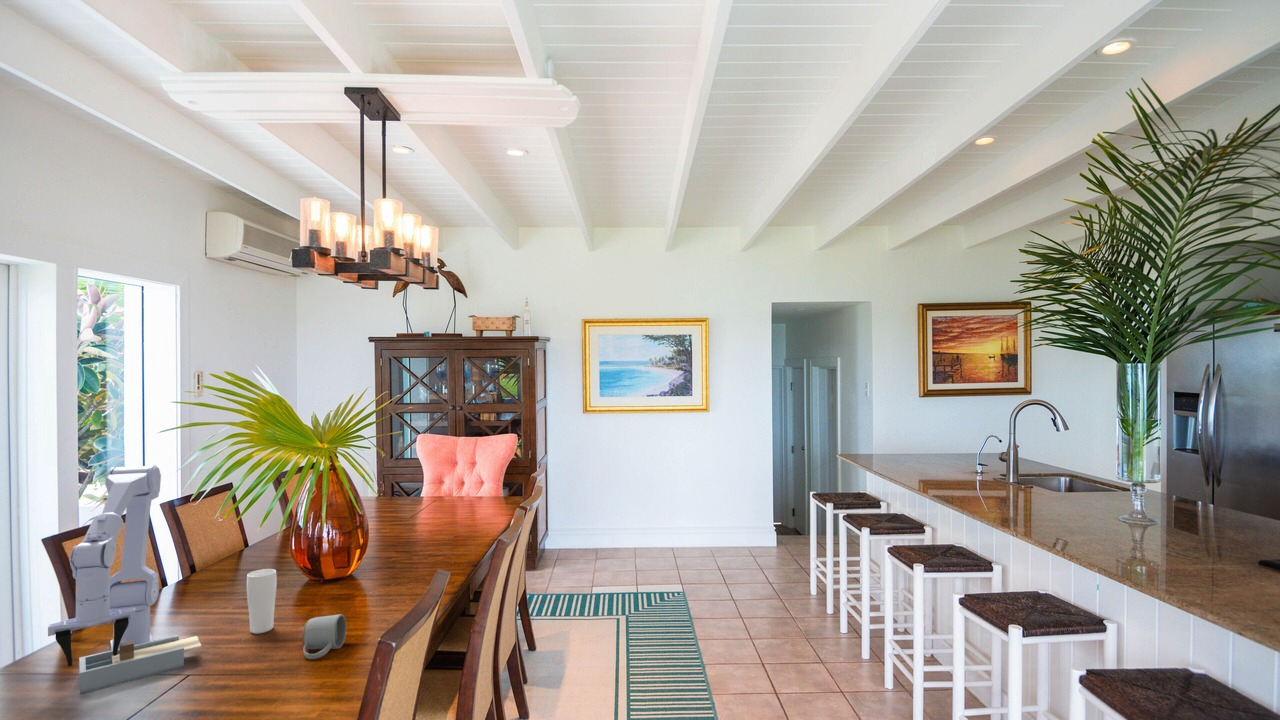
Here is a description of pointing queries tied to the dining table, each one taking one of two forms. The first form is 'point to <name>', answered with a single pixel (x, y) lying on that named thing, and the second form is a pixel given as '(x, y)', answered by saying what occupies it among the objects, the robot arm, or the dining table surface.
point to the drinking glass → (261, 599)
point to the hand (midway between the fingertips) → (92, 659)
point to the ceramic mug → (323, 634)
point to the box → (127, 666)
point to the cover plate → (154, 649)
